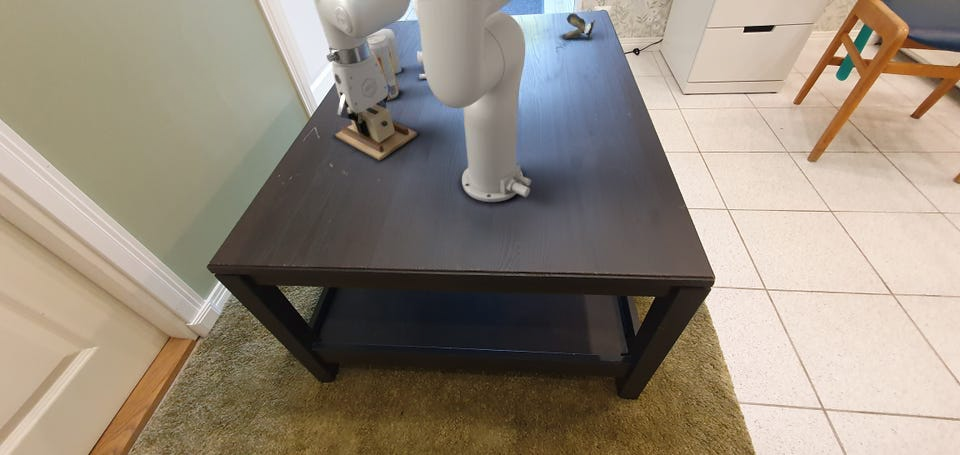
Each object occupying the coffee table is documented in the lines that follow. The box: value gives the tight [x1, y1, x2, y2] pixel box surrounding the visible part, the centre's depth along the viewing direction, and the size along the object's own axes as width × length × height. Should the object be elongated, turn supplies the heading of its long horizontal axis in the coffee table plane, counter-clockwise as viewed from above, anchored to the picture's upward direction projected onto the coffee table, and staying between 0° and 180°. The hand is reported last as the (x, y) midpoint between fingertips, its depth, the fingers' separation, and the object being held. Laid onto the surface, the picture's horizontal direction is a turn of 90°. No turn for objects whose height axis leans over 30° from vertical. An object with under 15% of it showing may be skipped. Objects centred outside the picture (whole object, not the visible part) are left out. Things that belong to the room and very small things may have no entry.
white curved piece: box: [370, 28, 402, 75], centre depth 107 cm, size 10×4×12 cm, turn 124°
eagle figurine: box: [561, 13, 596, 40], centre depth 120 cm, size 8×7×9 cm
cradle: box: [334, 120, 418, 161], centre depth 89 cm, size 12×16×2 cm
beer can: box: [367, 35, 400, 101], centre depth 97 cm, size 6×6×15 cm
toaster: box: [347, 104, 395, 143], centre depth 87 cm, size 5×10×6 cm, turn 52°
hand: (373, 128), depth 89 cm, fingers closed on toaster, 5 cm apart
